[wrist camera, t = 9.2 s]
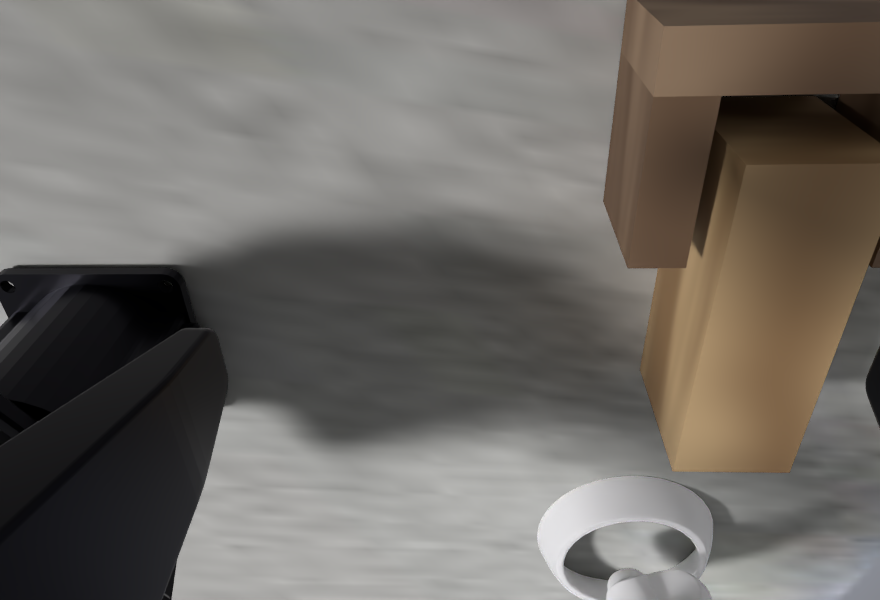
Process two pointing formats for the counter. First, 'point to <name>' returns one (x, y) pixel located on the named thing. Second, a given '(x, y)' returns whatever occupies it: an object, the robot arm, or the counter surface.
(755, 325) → the wooden block
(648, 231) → the slot block
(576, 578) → the vr controller
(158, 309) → the robot arm
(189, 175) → the counter surface
